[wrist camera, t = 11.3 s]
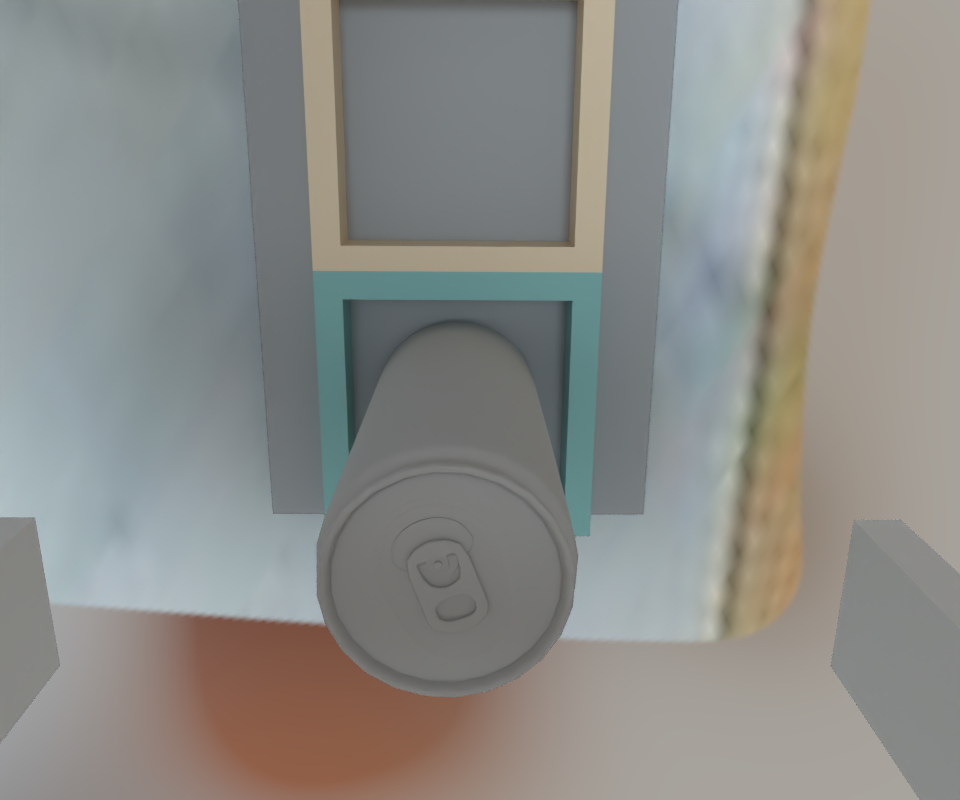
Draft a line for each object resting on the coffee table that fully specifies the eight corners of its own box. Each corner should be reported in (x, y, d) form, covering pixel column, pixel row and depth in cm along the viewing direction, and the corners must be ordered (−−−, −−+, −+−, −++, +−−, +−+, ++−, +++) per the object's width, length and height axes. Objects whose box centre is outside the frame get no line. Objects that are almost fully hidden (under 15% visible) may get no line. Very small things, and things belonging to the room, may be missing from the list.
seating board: (245, -28, 24) (219, -48, 21) (672, -24, 24) (694, -43, 21) (279, 502, 28) (262, 535, 26) (637, 503, 28) (652, 536, 26)
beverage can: (506, 295, 25) (533, 419, 14) (555, 438, 27) (617, 659, 15) (356, 347, 26) (263, 509, 14) (412, 486, 27) (368, 735, 16)
